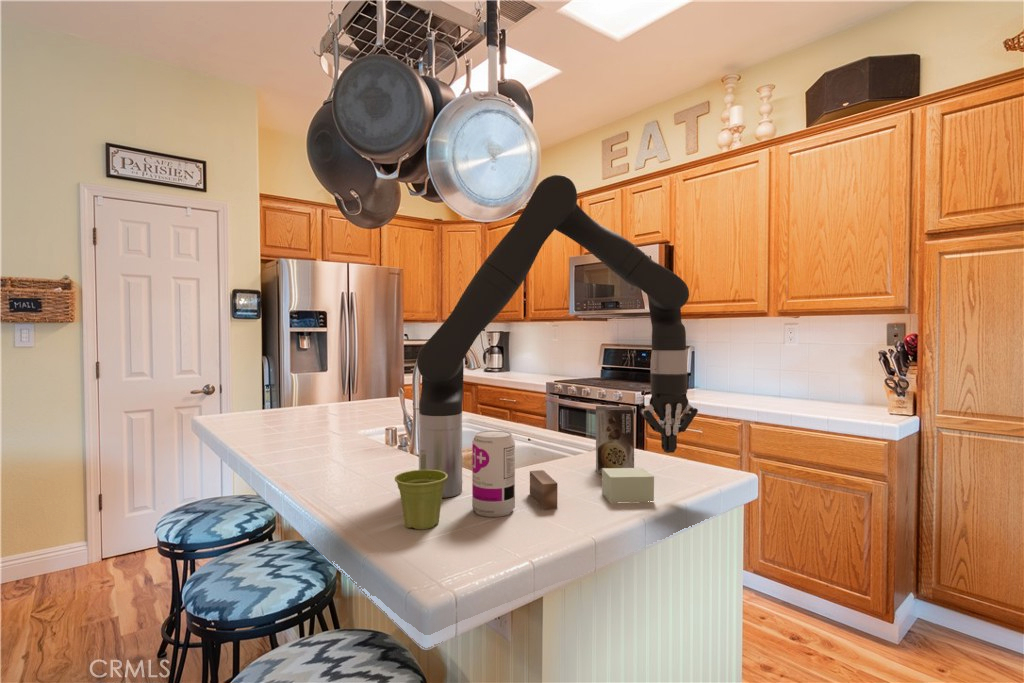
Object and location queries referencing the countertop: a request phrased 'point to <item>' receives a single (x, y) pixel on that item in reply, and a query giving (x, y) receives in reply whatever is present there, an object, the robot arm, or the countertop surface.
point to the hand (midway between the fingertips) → (669, 452)
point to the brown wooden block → (543, 489)
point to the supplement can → (493, 473)
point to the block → (627, 485)
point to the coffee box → (614, 437)
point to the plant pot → (421, 497)
